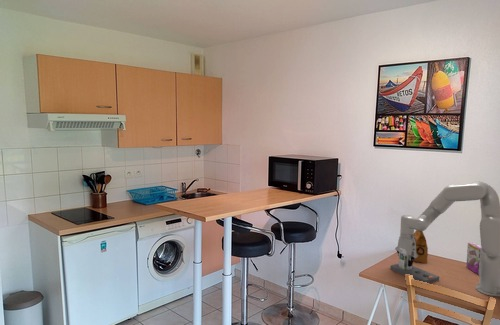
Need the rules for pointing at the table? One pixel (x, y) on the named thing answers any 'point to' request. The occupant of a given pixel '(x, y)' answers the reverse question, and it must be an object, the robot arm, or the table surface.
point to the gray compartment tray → (416, 273)
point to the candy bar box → (474, 257)
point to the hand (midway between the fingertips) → (405, 263)
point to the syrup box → (403, 259)
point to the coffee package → (421, 247)
